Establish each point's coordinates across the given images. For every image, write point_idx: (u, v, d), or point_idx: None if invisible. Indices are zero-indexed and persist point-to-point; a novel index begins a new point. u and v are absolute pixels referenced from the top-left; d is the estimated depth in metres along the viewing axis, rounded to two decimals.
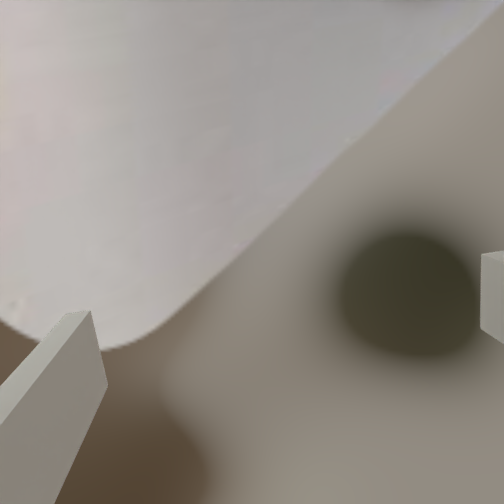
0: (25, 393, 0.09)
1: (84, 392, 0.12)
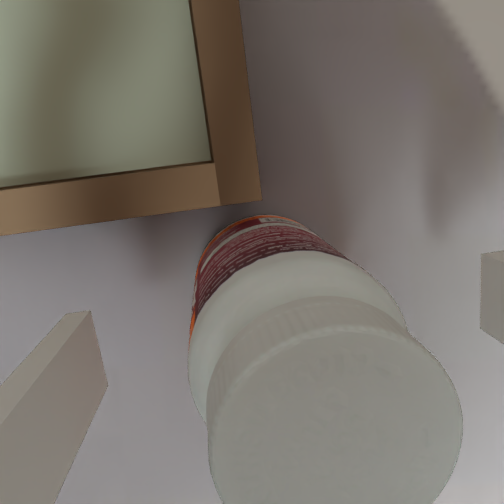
0: (25, 393, 0.09)
1: (84, 392, 0.12)
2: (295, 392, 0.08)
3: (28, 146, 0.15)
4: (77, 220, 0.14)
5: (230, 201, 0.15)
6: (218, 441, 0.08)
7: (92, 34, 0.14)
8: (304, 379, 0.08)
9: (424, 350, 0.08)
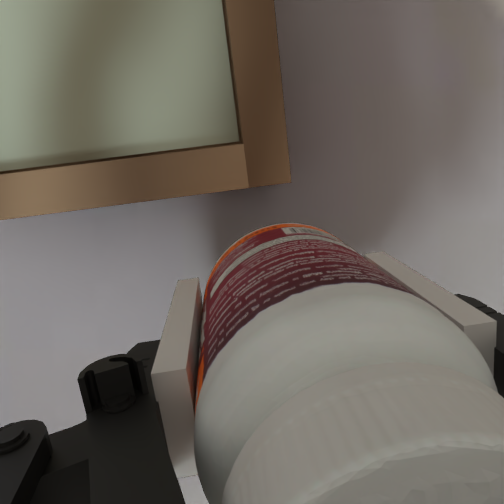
0: (191, 331, 0.11)
1: None
2: None
3: (56, 126, 0.15)
4: (105, 201, 0.14)
5: (259, 183, 0.14)
6: None
7: (120, 11, 0.14)
8: None
9: None
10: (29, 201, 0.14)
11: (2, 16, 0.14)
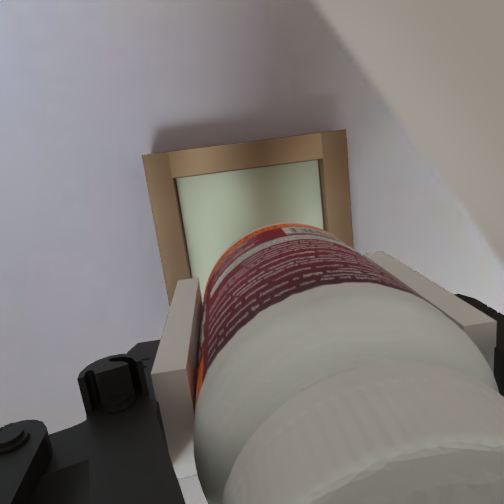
0: (190, 331, 0.11)
1: None
2: None
3: None
4: None
5: None
6: None
7: None
8: None
9: None
10: None
11: (211, 237, 0.26)
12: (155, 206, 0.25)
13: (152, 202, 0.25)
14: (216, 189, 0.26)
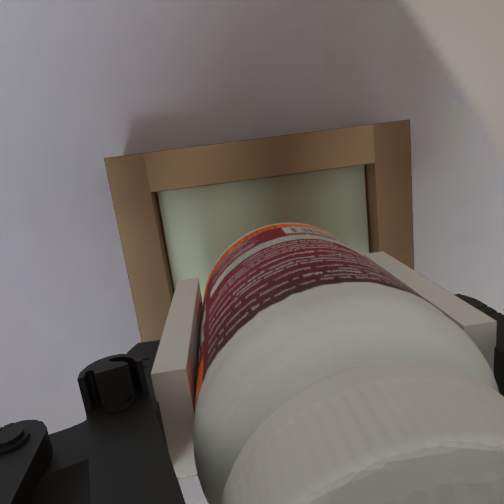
0: (191, 331, 0.11)
1: None
2: None
3: None
4: None
5: None
6: None
7: None
8: None
9: None
10: None
11: None
12: (125, 234, 0.17)
13: (121, 228, 0.16)
14: (217, 208, 0.18)
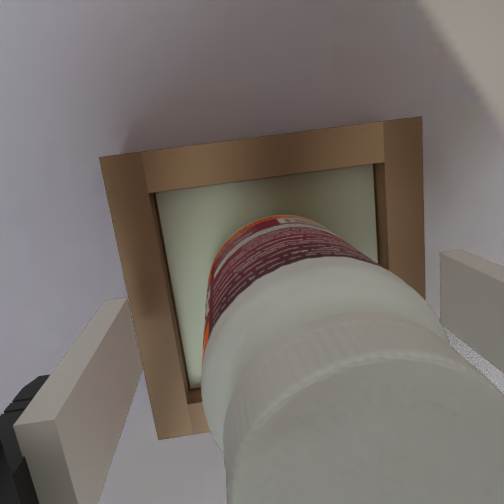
0: (85, 367, 0.09)
1: (126, 373, 0.13)
2: (332, 430, 0.06)
3: None
4: None
5: None
6: (239, 485, 0.07)
7: None
8: (342, 414, 0.06)
9: (487, 381, 0.07)
10: None
11: None
12: (122, 237, 0.16)
13: (117, 231, 0.16)
14: (218, 209, 0.17)
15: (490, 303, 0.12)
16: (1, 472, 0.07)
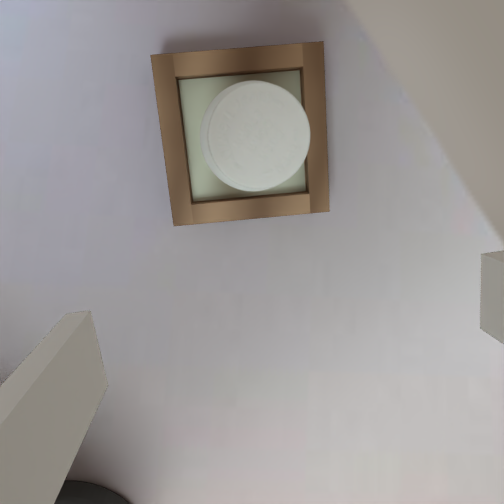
0: (25, 393, 0.09)
1: (84, 392, 0.12)
2: (242, 108, 0.20)
3: (223, 182, 0.32)
4: (245, 217, 0.32)
5: (315, 211, 0.32)
6: (211, 127, 0.20)
7: None
8: (245, 102, 0.20)
9: None
10: (212, 215, 0.32)
11: None
12: (160, 101, 0.29)
13: (157, 97, 0.29)
14: (212, 92, 0.30)
15: None
16: None
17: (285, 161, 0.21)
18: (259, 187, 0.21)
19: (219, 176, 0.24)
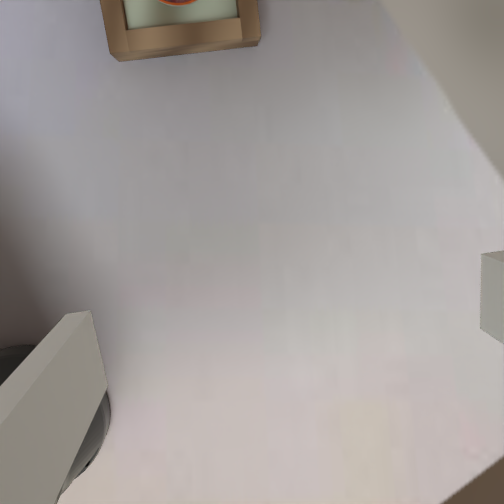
0: (25, 393, 0.09)
1: (84, 392, 0.12)
2: None
3: (157, 11, 0.33)
4: (179, 43, 0.33)
5: (246, 36, 0.33)
6: None
7: None
8: None
9: None
10: (146, 41, 0.33)
11: None
12: None
13: None
14: None
15: None
16: None
17: None
18: None
19: None
